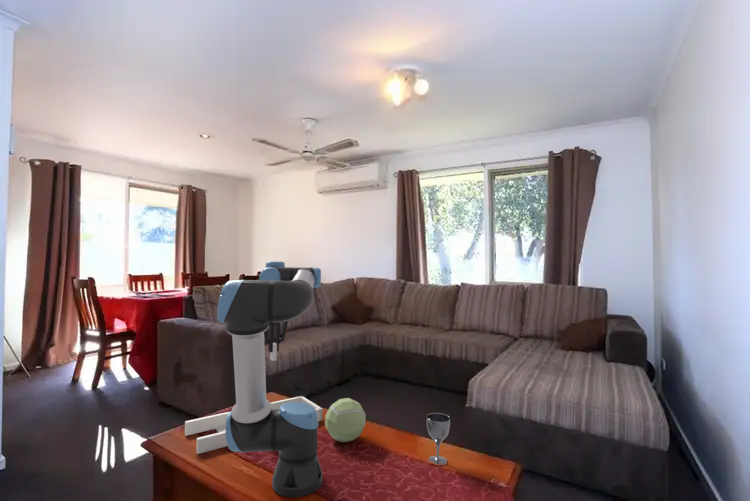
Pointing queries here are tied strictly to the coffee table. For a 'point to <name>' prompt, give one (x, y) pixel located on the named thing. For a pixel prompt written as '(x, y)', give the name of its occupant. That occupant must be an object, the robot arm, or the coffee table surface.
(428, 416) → the wine glass
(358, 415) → the tennis ball
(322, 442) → the coffee table surface
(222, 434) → the trap lane
